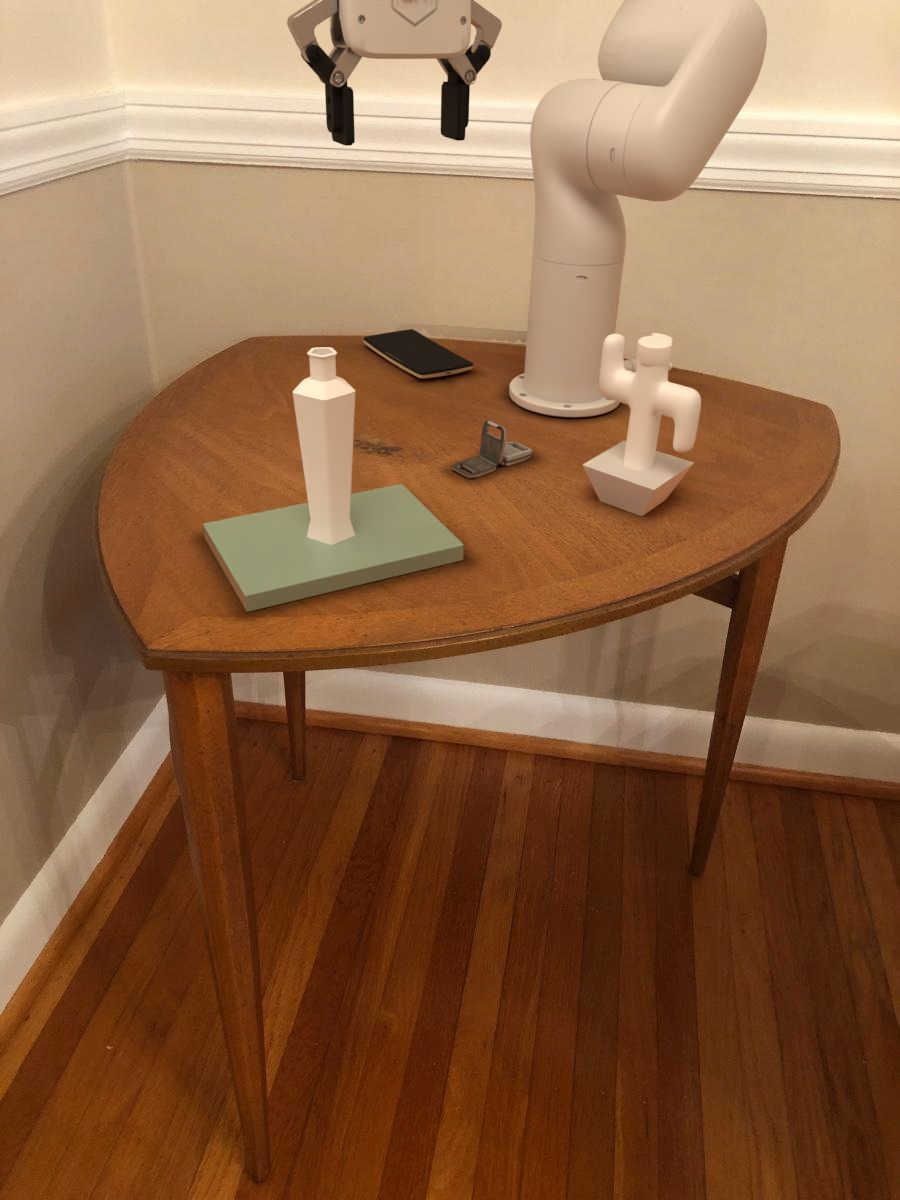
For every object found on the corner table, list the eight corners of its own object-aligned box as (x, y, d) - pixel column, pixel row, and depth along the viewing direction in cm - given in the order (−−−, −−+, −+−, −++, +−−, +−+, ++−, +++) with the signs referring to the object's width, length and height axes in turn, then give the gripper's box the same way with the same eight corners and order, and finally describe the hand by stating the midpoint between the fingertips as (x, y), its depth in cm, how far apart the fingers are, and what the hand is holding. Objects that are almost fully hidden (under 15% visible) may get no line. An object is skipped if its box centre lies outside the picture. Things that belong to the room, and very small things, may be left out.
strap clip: (513, 448, 95) (516, 408, 92) (534, 458, 93) (538, 417, 91) (448, 470, 90) (450, 428, 88) (469, 481, 88) (471, 438, 86)
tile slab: (402, 498, 85) (402, 483, 84) (463, 560, 76) (464, 544, 75) (204, 538, 78) (202, 523, 77) (246, 612, 69) (244, 595, 68)
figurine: (659, 532, 81) (688, 362, 73) (567, 497, 86) (584, 335, 78) (698, 503, 86) (729, 340, 77) (609, 472, 91) (629, 316, 82)
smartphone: (421, 373, 108) (361, 336, 119) (421, 383, 109) (361, 345, 119) (475, 363, 112) (412, 328, 122) (475, 372, 112) (412, 336, 123)
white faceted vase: (351, 549, 74) (345, 365, 66) (298, 543, 75) (285, 359, 66) (367, 522, 78) (362, 344, 70) (316, 516, 78) (305, 339, 70)
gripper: (299, -141, 60) (313, 152, 70) (530, -122, 67) (515, 143, 76) (263, -132, 66) (281, 138, 75) (480, -116, 72) (472, 130, 82)
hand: (399, 140), depth 76 cm, fingers open, 9 cm apart
